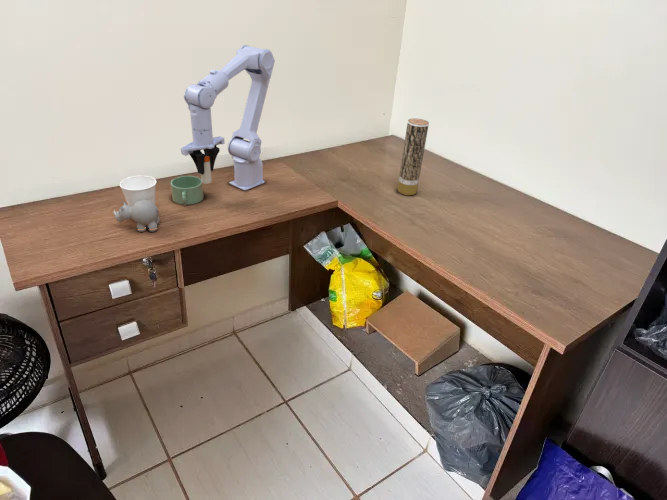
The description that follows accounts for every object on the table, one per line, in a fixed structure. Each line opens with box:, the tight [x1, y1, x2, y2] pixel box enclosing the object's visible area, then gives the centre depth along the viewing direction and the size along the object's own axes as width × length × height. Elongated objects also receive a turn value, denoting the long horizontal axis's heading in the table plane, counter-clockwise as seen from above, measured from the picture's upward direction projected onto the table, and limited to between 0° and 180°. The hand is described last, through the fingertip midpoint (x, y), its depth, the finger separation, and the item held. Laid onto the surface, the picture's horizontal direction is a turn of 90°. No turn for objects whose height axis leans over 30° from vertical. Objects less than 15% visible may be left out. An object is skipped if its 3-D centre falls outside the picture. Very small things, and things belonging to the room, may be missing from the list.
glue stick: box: [200, 156, 212, 185], centre depth 146 cm, size 3×3×8 cm
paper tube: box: [397, 118, 430, 196], centre depth 161 cm, size 7×7×25 cm
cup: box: [118, 174, 157, 207], centre depth 139 cm, size 10×10×11 cm
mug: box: [170, 175, 205, 206], centre depth 151 cm, size 12×10×6 cm
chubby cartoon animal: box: [113, 200, 161, 233], centre depth 134 cm, size 7×12×8 cm, turn 94°
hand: (205, 171), depth 147 cm, fingers closed on glue stick, 3 cm apart
